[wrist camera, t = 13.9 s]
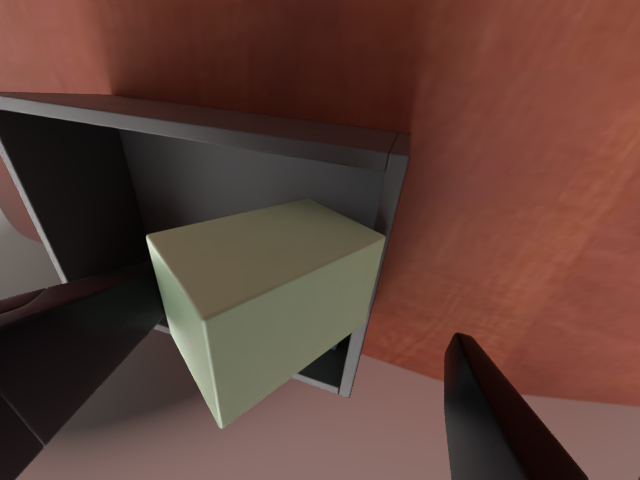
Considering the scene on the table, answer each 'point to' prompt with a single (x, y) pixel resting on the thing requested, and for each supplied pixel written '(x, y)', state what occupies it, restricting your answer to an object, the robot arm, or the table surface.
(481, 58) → the table surface
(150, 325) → the robot arm
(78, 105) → the dark grey open box
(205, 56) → the table surface
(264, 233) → the sage block
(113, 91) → the table surface
